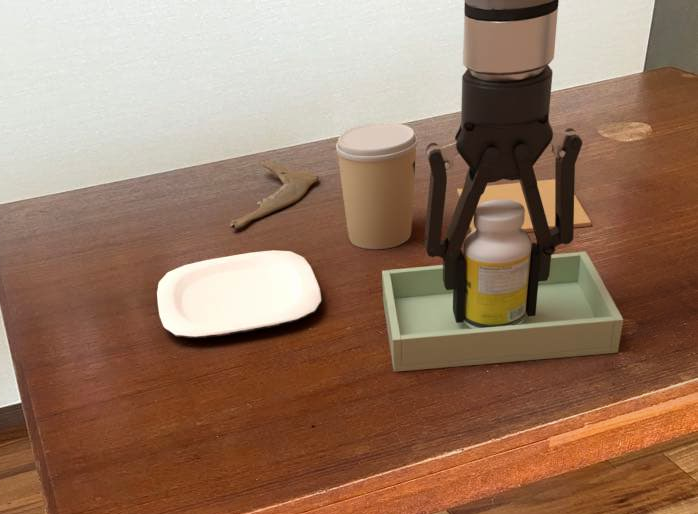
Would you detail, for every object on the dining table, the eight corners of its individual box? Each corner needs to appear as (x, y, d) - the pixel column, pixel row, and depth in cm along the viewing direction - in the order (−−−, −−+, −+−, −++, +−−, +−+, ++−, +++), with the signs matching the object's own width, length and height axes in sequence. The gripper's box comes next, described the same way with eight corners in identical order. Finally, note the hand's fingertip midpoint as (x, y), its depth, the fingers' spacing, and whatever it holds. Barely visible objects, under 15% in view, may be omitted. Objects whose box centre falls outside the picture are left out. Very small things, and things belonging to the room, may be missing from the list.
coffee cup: (433, 234, 108) (434, 133, 100) (373, 260, 105) (368, 156, 97) (385, 213, 114) (382, 115, 106) (327, 236, 111) (319, 137, 103)
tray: (582, 282, 96) (586, 251, 94) (618, 352, 85) (623, 319, 83) (383, 300, 98) (381, 270, 95) (393, 372, 87) (392, 339, 84)
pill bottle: (478, 299, 94) (483, 191, 87) (536, 312, 91) (546, 200, 83) (449, 327, 91) (452, 217, 83) (508, 341, 88) (516, 228, 80)
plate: (332, 327, 95) (331, 312, 93) (164, 356, 94) (161, 342, 92) (303, 255, 108) (301, 242, 107) (156, 280, 107) (153, 267, 106)
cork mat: (564, 181, 116) (565, 177, 116) (590, 226, 106) (591, 222, 105) (457, 192, 117) (457, 188, 117) (472, 237, 107) (472, 233, 106)
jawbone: (323, 175, 128) (323, 160, 126) (297, 239, 113) (297, 223, 112) (262, 171, 129) (261, 157, 128) (229, 234, 115) (228, 219, 113)
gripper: (612, 42, 77) (581, 286, 93) (389, 67, 78) (395, 303, 94) (637, 66, 71) (599, 322, 87) (396, 93, 73) (401, 340, 88)
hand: (493, 312), depth 90 cm, fingers closed on pill bottle, 6 cm apart
